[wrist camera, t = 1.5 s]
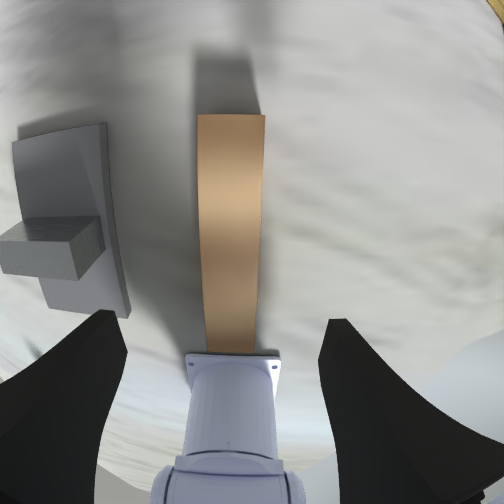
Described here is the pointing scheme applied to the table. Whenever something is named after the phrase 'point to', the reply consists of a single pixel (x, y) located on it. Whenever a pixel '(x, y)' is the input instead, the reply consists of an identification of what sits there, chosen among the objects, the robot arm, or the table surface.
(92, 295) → the stand
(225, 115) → the bar
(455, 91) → the table surface
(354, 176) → the table surface
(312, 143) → the table surface
